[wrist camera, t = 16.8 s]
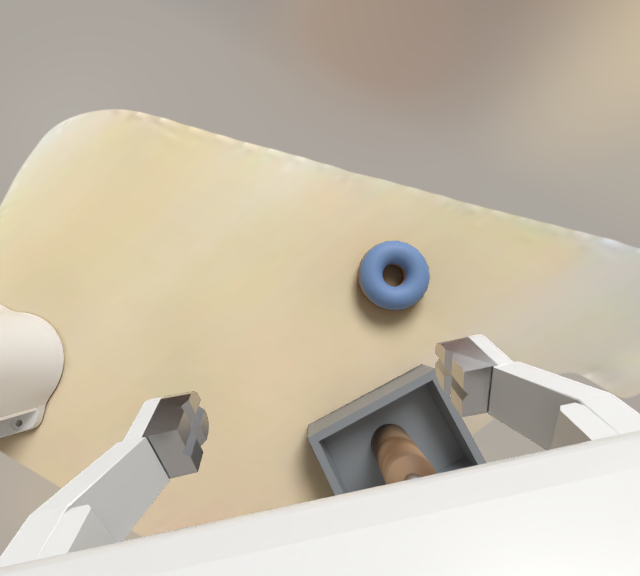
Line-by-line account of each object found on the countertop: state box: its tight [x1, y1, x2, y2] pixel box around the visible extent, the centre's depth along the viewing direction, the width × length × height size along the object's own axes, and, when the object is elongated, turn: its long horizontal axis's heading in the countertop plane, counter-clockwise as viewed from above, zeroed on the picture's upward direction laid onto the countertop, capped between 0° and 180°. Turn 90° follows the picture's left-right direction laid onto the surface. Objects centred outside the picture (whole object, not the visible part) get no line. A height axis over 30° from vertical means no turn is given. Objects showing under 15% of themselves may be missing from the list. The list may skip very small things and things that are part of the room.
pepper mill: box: [371, 424, 437, 485], centre depth 35 cm, size 5×5×11 cm
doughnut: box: [358, 241, 430, 310], centre depth 43 cm, size 10×10×5 cm
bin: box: [307, 364, 486, 495], centre depth 39 cm, size 18×14×5 cm
